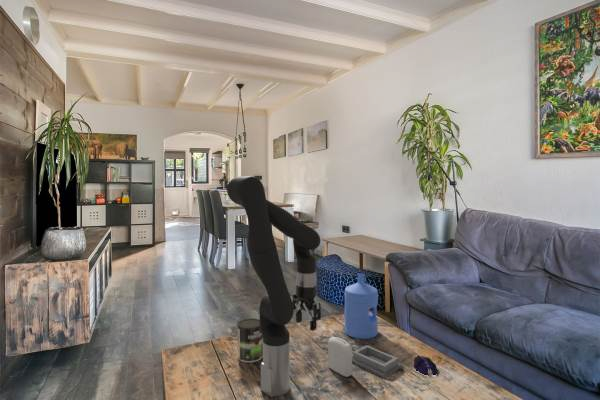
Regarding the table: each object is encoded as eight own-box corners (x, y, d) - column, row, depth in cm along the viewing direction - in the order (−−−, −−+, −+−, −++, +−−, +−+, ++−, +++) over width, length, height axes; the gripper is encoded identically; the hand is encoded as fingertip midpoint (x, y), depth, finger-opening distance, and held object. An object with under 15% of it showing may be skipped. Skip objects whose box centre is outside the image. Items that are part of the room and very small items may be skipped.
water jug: (346, 339, 161) (346, 278, 160) (343, 325, 177) (343, 270, 175) (380, 340, 161) (381, 279, 159) (374, 325, 176) (375, 270, 175)
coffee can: (267, 357, 145) (267, 323, 145) (246, 365, 139) (245, 330, 138) (254, 348, 153) (254, 316, 153) (233, 355, 147) (232, 322, 146)
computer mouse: (417, 379, 130) (417, 368, 130) (405, 358, 145) (405, 349, 145) (442, 378, 130) (443, 368, 130) (428, 358, 145) (428, 348, 145)
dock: (384, 378, 130) (384, 369, 129) (348, 361, 142) (348, 352, 142) (402, 367, 138) (402, 358, 137) (366, 351, 150) (367, 343, 150)
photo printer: (326, 367, 138) (326, 336, 137) (334, 363, 140) (334, 333, 140) (345, 378, 130) (345, 345, 129) (353, 374, 132) (353, 342, 132)
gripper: (286, 280, 134) (286, 322, 136) (310, 290, 123) (309, 335, 124) (302, 277, 139) (302, 317, 140) (326, 286, 127) (326, 330, 129)
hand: (305, 325), depth 132 cm, fingers open, 8 cm apart
